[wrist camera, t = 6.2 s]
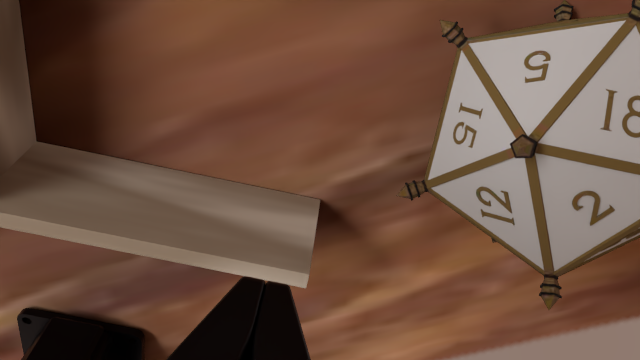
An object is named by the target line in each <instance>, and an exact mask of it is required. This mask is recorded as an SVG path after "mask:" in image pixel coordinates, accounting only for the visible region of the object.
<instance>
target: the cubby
mask: <svg viewBox="0 0 640 360" xmlns="http://www.w3.org/2000/svg"><path fill="white" fill-rule="evenodd" d="M319 206H320V199H315V198H310V197H305V196H300V195H295V194H291V193H286V192H281V191H276V190H271V189H266V188H261V187H256V186H252V185H247V184H242V183H237V182H232V181H227V180H222V179H218V178H213V177H208V176H203V175H198V174H193V173H188V172H183V171H179V170H174V169H169V168H164V167H159V166H154V165H149V164H144V163H140V162H135V161H130V160H125V159H120V158H115V157H110V156H106V155H101V154H96V153H91V152H86V151H81V150H76V149H71V148H67V147H62V146H57V145H52V144H47V143H42V142H37V141H36V133H35V125H34V117H33V109H32V101H31V93H30V85H29V77H28V69H27V61H26V53H25V45H24V37H23V29H22V21H21V13H20V4H19V0H0V227H2V228H7V229H12V230H17V231H22V232H27V233H32V234H37V235H42V236H47V237H52V238H57V239H62V240H67V241H72V242H77V243H82V244H87V245H92V246H97V247H102V248H107V249H112V250H117V251H122V252H127V253H132V254H137V255H142V256H147V257H152V258H157V259H162V260H167V261H172V262H177V263H182V264H187V265H192V266H197V267H202V268H207V269H212V270H217V271H222V272H227V273H232V274H237V275H242V276H248V277H253V278H258V279H263V280H267V281H273V282H278V283H283V284H287V285H292V286H297V287H302V288H306V286H307V282H308V278H309V273H310V266H311V260H312V253H313V246H314V239H315V233H316V226H317V219H318V212H319Z"/></svg>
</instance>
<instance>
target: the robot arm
mask: <svg viewBox="0 0 640 360" xmlns="http://www.w3.org/2000/svg"><path fill="white" fill-rule="evenodd" d="M17 321H18V326H19V331H20V337H21V342H22V347H23V352H24V356H23V358H22V359H21V360H144V343H145V337H144V334H143V333H142V332H141V331H139V330H137V329H133V328H128V327H122V326H117V325H112V324H107V323H102V322H97V321H92V320H87V319H81V318H76V317H71V316H66V315H61V314H56V313H51V312H46V311H40V310H35V309H30V308H25V309H23V310H22V311H21V312H20V314H19V315H18V316H17ZM166 360H311V359H310V356H309V352H308V349H307V345H306V342H305V338H304V335H303V331H302V328H301V324H300V321H299V317H298V314H297V310H296V306H295V303H294V299H293V296H292V292H291V289H290V287H289V286H288V285H287V284H283V283H278V282H273V281H268V282H267V283H266V285H265V281H264V280H263V279H258V278H253V277H248V276H244V277H242V278H241V279H240V280H239V281H238V282H237V283H236V284H235V285H234V286H233V288H232V289H231V290H230V291H229V292H228V293H227V294H226V295H225V296H224V297H223V298H222V299H221V301H220V302H219V303H218V304H217V305H216V306H215V307H214V308H213V309H212V310H211V311H210V313H209V314H208V315H207V316H206V317H205V318H204V319H203V320H202V321H201V322H200V323H199V324H198V326H197V327H196V328H195V329H194V330H193V331H192V332H191V333H190V334H189V335H188V336H187V338H186V339H185V340H184V341H183V342H182V343H181V344H180V345H179V346H178V347H177V348H176V349H175V351H174V352H173V353H172V354H171V355H170V356H169V357H168V358H167V359H166Z"/></svg>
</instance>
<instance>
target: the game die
mask: <svg viewBox="0 0 640 360" xmlns="http://www.w3.org/2000/svg"><path fill="white" fill-rule="evenodd" d="M572 10H573V6H570V5H569V4H568V3H567V2H566V1H565V0H564V1H563V2H562V3H561V4H560V5H559V6H558V7H557V8H555V9H554V11H555V12H556V15H554V17H555V18H556V19H557V22H552V23H547V24H541V25H536V26H531V27H525V28H520V29H514V30H509V31H504V32H498V33H493V34H487V35H482V36H477V37H471V38H467V37H465V35H464V33H463V28H460V27H459V26H458V25H457V24H458V22H455V23H454V22H449V21H443V20H440V23H441V28H442V32H443V35H442V37H446V38H447V39H448V42H449V43H454V44H456V45H457V47H458V48H457V52H456V56H455V60H454V64H453V68H452V72H451V76H450V80H449V83H448V87H447V91H446V95H445V99H444V103H443V107H442V111H441V115H440V119H439V123H438V127H437V130H436V134H435V138H434V142H433V146H432V150H431V154H430V158H429V162H428V166H427V170H426V174H425V177H424V180H423V181H421V182H415V181H413V182H412V183H409V184H407V183H405V184H406V185H405V186H404V187H403V188H402V190H401V191H400V192H399V193H398V195H397V196H400V197H404V198H409V199H411V201H412V200H413V198H415V197H417V196H418V197H420V195H421V194H423V193H424V192H429V193H431V194H432V195H433V196H435V197H436V198H438V199H439V200H440V201H442V202H443V203H444V204H446V205H447V206H449V207H450V208H451V209H453V210H454V211H455V212H457V213H458V214H460V215H461V216H462V217H464V218H465V219H466V220H468V221H469V222H471V223H472V224H473V225H475V226H476V227H477V228H479V229H480V230H482V231H483V232H484V233H486V234H487V235H489V236H490V237H491V238H492V242H493V243H494V242H498V243H500V244H501V245H502V246H504V247H505V248H506V249H508V250H509V251H511V252H512V253H513V254H515V255H516V256H517V257H519V258H520V259H522V260H523V261H524V262H526V263H527V264H528V265H530V266H531V267H533V268H534V269H535V270H537V271H538V272H539V273H541V274H542V275H544V282H543V283H542V284H541V285H540V288H542V290H541V293H540V294H539V296H541V297H542V299H543V301H544V302H545V304H546V306H547V308H548V310H550V309H551V307H552V306H553V305H554V304H555V302H556V301H557V300H558V299H559V298H562V296H561V295H560V292H559V289H561V287H560V286H559V284H558V277H559V276H561V275H563V274H565V273H567V272H569V271H571V270H573V269H575V268H577V267H580V266H582V265H584V264H586V263H588V262H590V261H592V260H594V259H596V258H598V257H600V256H602V255H604V254H606V253H608V252H611V251H613V250H615V249H617V248H619V247H621V246H623V245H625V244H627V243H629V242H631V241H633V240H635V239H637V238H639V237H640V0H633V1H632V10H631V11H630V12H629V13H627V14H618V15H609V16H599V17H590V18H581V19H572V20H571V17H572V13H573V12H572Z"/></svg>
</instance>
